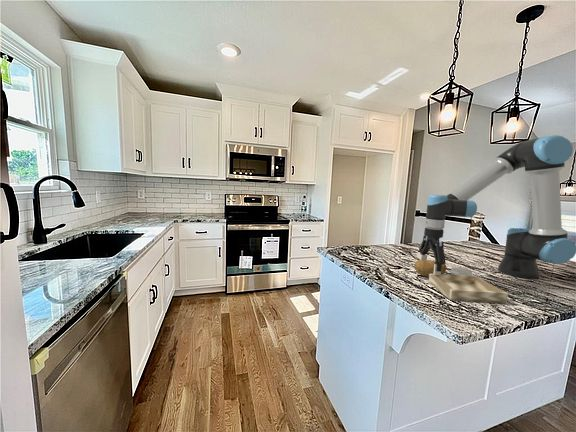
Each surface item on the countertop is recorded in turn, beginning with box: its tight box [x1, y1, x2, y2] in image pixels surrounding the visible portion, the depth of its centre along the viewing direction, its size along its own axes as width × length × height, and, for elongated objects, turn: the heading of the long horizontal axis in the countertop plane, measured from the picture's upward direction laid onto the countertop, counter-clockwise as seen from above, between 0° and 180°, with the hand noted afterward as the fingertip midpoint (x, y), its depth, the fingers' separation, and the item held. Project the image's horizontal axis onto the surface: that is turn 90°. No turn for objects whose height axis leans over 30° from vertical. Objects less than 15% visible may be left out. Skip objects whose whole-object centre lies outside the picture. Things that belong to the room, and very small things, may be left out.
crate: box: [428, 273, 509, 305], centre depth 99 cm, size 19×17×4 cm
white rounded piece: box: [450, 266, 473, 276], centre depth 114 cm, size 8×8×4 cm
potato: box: [413, 259, 448, 278], centre depth 115 cm, size 10×14×8 cm
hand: (429, 272), depth 115 cm, fingers open, 13 cm apart
